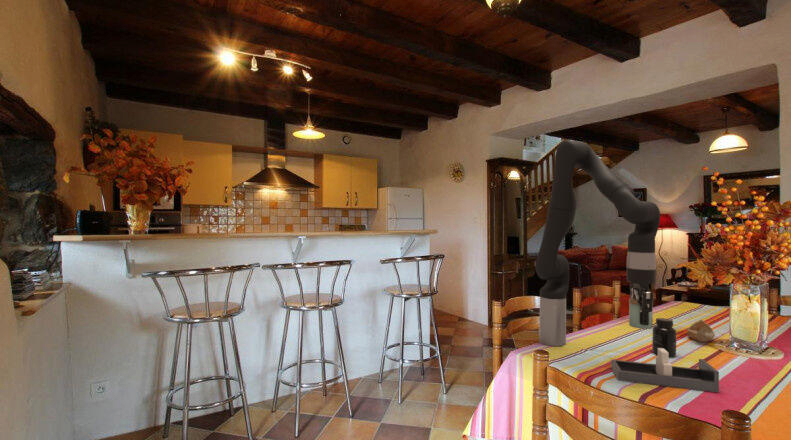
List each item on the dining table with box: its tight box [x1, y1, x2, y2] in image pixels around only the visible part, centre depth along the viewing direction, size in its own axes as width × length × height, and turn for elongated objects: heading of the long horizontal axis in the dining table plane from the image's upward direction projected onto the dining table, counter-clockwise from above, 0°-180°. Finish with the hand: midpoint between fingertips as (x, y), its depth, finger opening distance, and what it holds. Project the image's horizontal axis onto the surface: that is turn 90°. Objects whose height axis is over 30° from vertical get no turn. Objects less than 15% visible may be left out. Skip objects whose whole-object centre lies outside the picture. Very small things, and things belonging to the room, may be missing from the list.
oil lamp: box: [686, 319, 716, 343], centre depth 151 cm, size 9×21×10 cm, turn 143°
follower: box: [655, 348, 673, 376], centre depth 113 cm, size 2×7×8 cm, turn 161°
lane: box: [610, 358, 720, 393], centre depth 113 cm, size 24×10×6 cm, turn 71°
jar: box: [628, 297, 654, 330], centre depth 117 cm, size 6×6×8 cm
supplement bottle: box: [651, 317, 677, 358], centre depth 134 cm, size 7×7×12 cm
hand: (640, 321), depth 117 cm, fingers closed on jar, 6 cm apart
